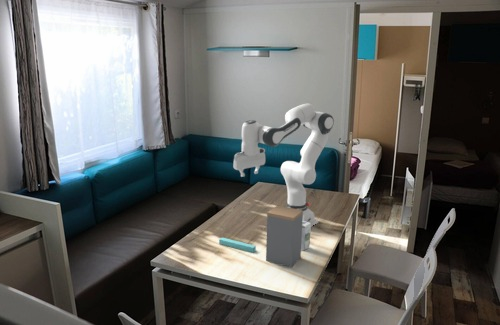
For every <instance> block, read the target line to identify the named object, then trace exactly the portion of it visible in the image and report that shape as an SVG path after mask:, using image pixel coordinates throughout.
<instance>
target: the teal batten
mask: <svg viewBox="0 0 500 325" xmlns="http://www.w3.org/2000/svg"><path fill="white" fill-rule="evenodd" d="M218 243H219V245H222V244H223V245H222V246H225V245H227V246H226V247H229V246H230V248H233V247H234V249H237V248H238V250H242V251H245V252H250V253H254V252H256V250H257V248H256V245H254V244H250V243H246V242H243V241H238V240H234V239H230V238H225V237H221V238H219V239H218Z"/></svg>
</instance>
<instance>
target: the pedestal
mask: <svg viewBox="0 0 500 325" xmlns="http://www.w3.org/2000/svg"><path fill="white" fill-rule="evenodd" d="M266 217H267V218H266V246H265V248H266V249H265V251H266V252H265V256H266V257H265V261H266V262H270V263H274V264H277V265H282V266H285V267H288V268H293V266H294V265H295V264H296V263H297V262H298V261H299V260H300V259H301V258H302V250H301V240H302V219H303V210H299V209H294V208H289V207H286V206H282V205H276V206H274V207H273V208H272V209H270V210H269V211H267V214H266Z"/></svg>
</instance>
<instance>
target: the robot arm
mask: <svg viewBox="0 0 500 325" xmlns="http://www.w3.org/2000/svg"><path fill="white" fill-rule="evenodd" d="M284 120H285V123H284V124H283V125H281V126H279V127H271V126H267V125H264V124H261V123H259V122H258V121H256V120H253V119H251V120H246V121H244V122H242V126H241V152H240V151H239V152H236V153H235V154H234V156H233V164H232V165H233V166H232V167H233V169H234V170H236V171H239V173H240V177H241V178H242V177H244V178H245V176H246V174H245V172H244V170H245V169H250V168H254V167H255V169H254V171H253V173H254V175H257V174H259V169H260V168H261V166H264V165H265V164H266V153H265V152H266V149H265V148H262V147H260V146H259V145H258V144H259V143H260V144H263V145H266V146H268V147H271V148H275V147H278V146H279V144H281V143H282V141H284V139H285V138H287V137H289V136H290V135H292V134H293V133H294V132H296V131H297V130H299V129H300V127H301V126H303V127H304V128H307V129H310V130H311V132H310V133H311V134H310V135H309V137H308V138H307V139H306V141H305V143H304V144H303V146H302V148H301V149H300V151H299V152H300V153H299V154H300V156H301V158H300V161H299V162H297V161H294V160H286V161H284V162H282V164H281V166H280V173H281V175H282V176H283V179H284V180H285V184H286V185H285V186H286V190H287V201H286V205H285V207H289V208H294V209H299V210H303V219H302V221H306V222H309V223H311V228H312V227H313V225H314V226H316V225H317V224H319V220H318V219H316V217H315V213H314V212H313V211H312V210H311V209H310V208H308V207H311V203H310V202H306V200H307V191H306V188H305V187H304V185H312V184H313V183H314V182H315V180H316V177H317V173H316V169H315V168H316V163H317V160H318V159H319V156H320V155H321V153H322V151H323V150H324V148H325V146H326V144H327V142H328V139H329V133H330V132H331V130H332V129H333V126H334V122H335V120H334V117H333V116H332V115H331V114H330V113H327V112H322V111H316V109H315V107H314V105H312V103H308V102H307V103H303V104H299V105H298V106H295V107H293V108H291V109H289V110H288V111H286V113H285V115H284ZM315 224H316V225H315Z"/></svg>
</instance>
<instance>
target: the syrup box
mask: <svg viewBox="0 0 500 325" xmlns="http://www.w3.org/2000/svg"><path fill="white" fill-rule="evenodd" d="M311 228H312V227H311V223H309V222H306V221H302V240H301V251H302V252H303V251H306V250H307V249H309V248H310V242H311Z"/></svg>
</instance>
